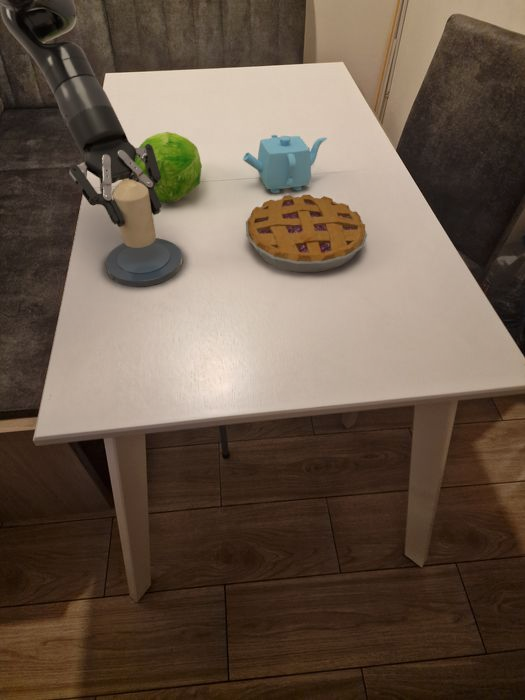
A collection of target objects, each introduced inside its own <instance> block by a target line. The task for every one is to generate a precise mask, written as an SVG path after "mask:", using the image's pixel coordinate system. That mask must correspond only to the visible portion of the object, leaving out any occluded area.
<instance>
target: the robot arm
mask: <svg viewBox="0 0 525 700" xmlns="http://www.w3.org/2000/svg"><path fill="white" fill-rule="evenodd" d="M0 17H1V19H2V22H3V23H4V25H5V27H6V28H7V30H8V31H9V32H10V33H11V35H12V36H13V37H14V38H15V39H16V41H18V42H19V44H20V45H21V46H22V47H23V49H25V51H26V52H27V53H28V54H29V56H31V58H32V59H33V61H34V62H35V63H36V64H37V66H38V67H39V69H40V71H41V72H42V74H43V76H44V78H45V80H46V82H47V85H48V86H49V88H50V90H51V92H52V94H53V97H54V98H55V100H56V101H55V102H56V103H57V107H58V109H59V112H60V114H61V116H62V119H63V122H64V124H65V126H66V127H67V128H68V131H69V132H70V134H71V136H72V138H73V141H74V142H75V144H76V147H77V148H78V150H79V152H80V155H81V157H82V159H83V161H82V162H81V163H79V164H71V165H70V167H69V173H68V176H69V178H70V179H71V181H72V182H73V183H74V184H75V186H76V187H77V189H78V190H79V192H80V193H81V194H82V196H84V198H85V199H86V201H87V202H88V204H89V205H90V206H96V205H97V206H99V205H100V206H103V207H104V209H105V211H106V213H107V215H108V217H109V219H110V221H111V223H113V225H117V227H118V228H120V227H121V226H124V224H125V220H124V218H123V216H122V214H121V212H120V210H119V208H118V206H117V204H116V202H115V200H113V196H112V192H113V190H112V184H115V183H116V182H118V181H122V180H124V179H130V180H134V181H136V182H139V183H141V184H143V185H144V186H146V187H147V188H148V192H149V197H150V203H151V209H152V215H153V216H156V215H158V214H159V213H160V212H161V208H162V202H161V201H160V200H159V198H158V196H157V194H156V192H155V190H154V186H157V184H158V182H159V181H160V179H161V175H160V171H159V168H158V164H157V161H156V158H155V154H154V151H153V147H152V146H151V145H150V144H147V145H146V146H145V147H141V148H139V147H135V146H134V145H133V144H131V142H130V141H129V139H128V137H127V133H126V132H125V130H124V128H123V126H122V124H121V122H120V120H119V118H118V115H117V113H116V111H115V109H114V107H113V105H112V103H111V101H110V99H109V96H108V95H107V93H106V91H105V90H104V88H103V87H102V85H101V84H100V82H99V80H98V78H97V75H96V74H95V71H94V70H93V67H92V66H91V63H90V62H89V59H88V56H87V55H86V53H85V52H84V50H83V49H82V47H81V46H80V45H78V44H76V43H75V42H72V41H59V42H54V43H53V42H52V43H48V42H50V41H52V40H54V39H56V38H58V37H60V36H62V35H65V34H66V33H68V32H70V31H71V30H73V28H74V27H75V25H76V24H77V19H78V13H77V7H76V4H75V1H74V0H0ZM136 156H138V157H139V158H140V160H141V161H142V162H144V163H145V167H146V170H147V173H148V177H149V178H148V177H147V176H146V175H145V174H144V173H143V170H142V169H141V168H140V167H139V166H138V165H137V164H136V163H135V158H136ZM87 171H88V172H89V173H90V174H92V175H93V176H95V177H97V178H98V179H99V190H100V193H98V192H97V191H96V188H95V187H94V186H93V184H92V183H91V182H90V181H89V179H88V178H87V177H88V172H87Z"/></svg>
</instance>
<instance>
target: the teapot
mask: <svg viewBox="0 0 525 700" xmlns="http://www.w3.org/2000/svg"><path fill="white" fill-rule="evenodd" d="M326 140H328V137H320V138H317V139H316V140H315V141H314V142H313V144H312V147H311V150H310V148H309V146H308V145H307V144H306V142H305V141H304V140H303V138H301V136H299V135H292V136H288V135H282V136H279V137H278V135H277V134H272V135H271V136H270V138H264V139H260V141H259V147H258V155H257V157H255V156H254V155H252V154H251V153H250V152H245V154H244V155H243V158H242V160H243V161H244V162H245V163H246V164H248V165H249V166H251V167H252V168H254V169H255V170H256V171H257V172H258V175H259V177H260V180H261V181H262V183H263V185H264V186H265V188H266V189H267V190H270V193H273V194H278V193H280V192H281V189H288V188H292V190H294V191H301V190H303V188H302V186H308V185H309V184H310V181H311V176H312V166H313V165H314V163H315V162H316V159H317V156H318V152H319V149H320V147H321V145H322V144H323V143H324V142H325V141H326Z"/></svg>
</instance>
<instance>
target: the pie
mask: <svg viewBox="0 0 525 700" xmlns="http://www.w3.org/2000/svg"><path fill="white" fill-rule="evenodd" d="M245 236H246V237H247V239H248V240H249V241H250V243H251V244H252V246H253V247H254V249H255V250H256V251H257V252H258V254H259V255H260V257H261V258H262V259H263V260H264V261H265V262H267V264H270V265H271V266H273V267H274V268H276V269H278V270H282V271H287V272H288V271H289V272H293V273H319V272H323V271H328V270H332V269H336V268H339V267H341V266H342V265H344V264H346V263H348V262H349V261H351V260H352V259H353V258H354V256H355V255H356V254H357V252H358V251H360V250H362V249H363V247H364V244H365V242H366V239H367V236H368V234H367V231H366V224H365V223H363V220H362V218H361V216H360V214H359V213H358V211H353V210H351V209H350V206H349V205H348V204H346V203H341V202H340V203H339V202H335V201H334V200H333V198H331V197H327V196H322V197H319V198H318V197H314V196H312V195H311V194H302V195H300V196H292V195H290V194H287V195H283V196H282V197H281V199H277V200H274V199H269V200H267V201H264V202H263V203H262V206H260V207H259V206H255V207H254V208H253V209H252V211H251V213H250V215H249V217H248V218H247V219H246V221H245Z"/></svg>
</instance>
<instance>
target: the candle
mask: <svg viewBox="0 0 525 700" xmlns="http://www.w3.org/2000/svg"><path fill="white" fill-rule="evenodd" d="M112 200H115V202H116V204H117V206H118V208H119V210H120V212H121V214H122V216H123V218H124V220H125V224H124V226H121V227H119V230H120V235H121V239H122V242H123V243H124V244H125V245H127V246H129V247H133V248H141V247H146V246H148V245H150V244H152V243H153V242H154V241H155V239H156V238H157V233H156V228H155V222H154V215H153V213H152V209H151V203H150V197H149V192H148V188H147V187H146V186H144V185H143V184H141V183H139V182H136V181H134V180H130V179H124V180H120V181H119V182H118V184H117V185H116V186H115V187H114V189H113V190H112Z"/></svg>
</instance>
